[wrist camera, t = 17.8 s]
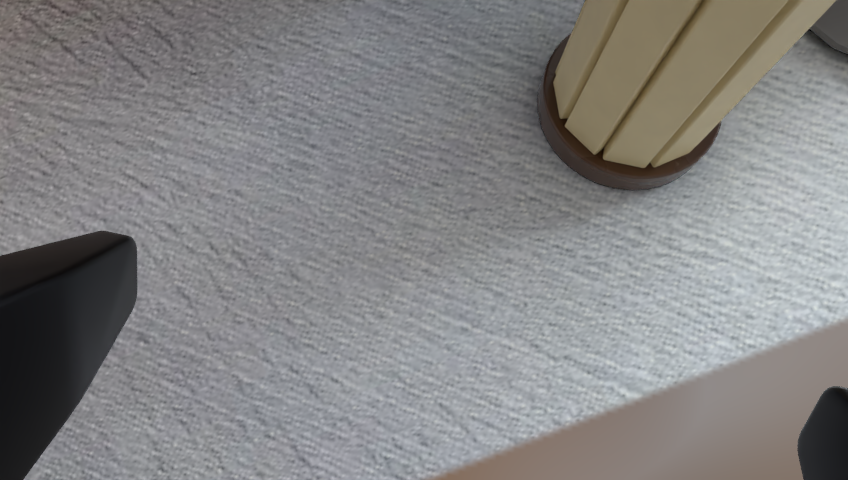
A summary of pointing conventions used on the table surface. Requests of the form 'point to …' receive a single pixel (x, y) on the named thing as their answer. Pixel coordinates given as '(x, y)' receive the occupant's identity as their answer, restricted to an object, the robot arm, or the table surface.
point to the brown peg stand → (595, 164)
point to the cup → (834, 26)
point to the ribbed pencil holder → (668, 69)
